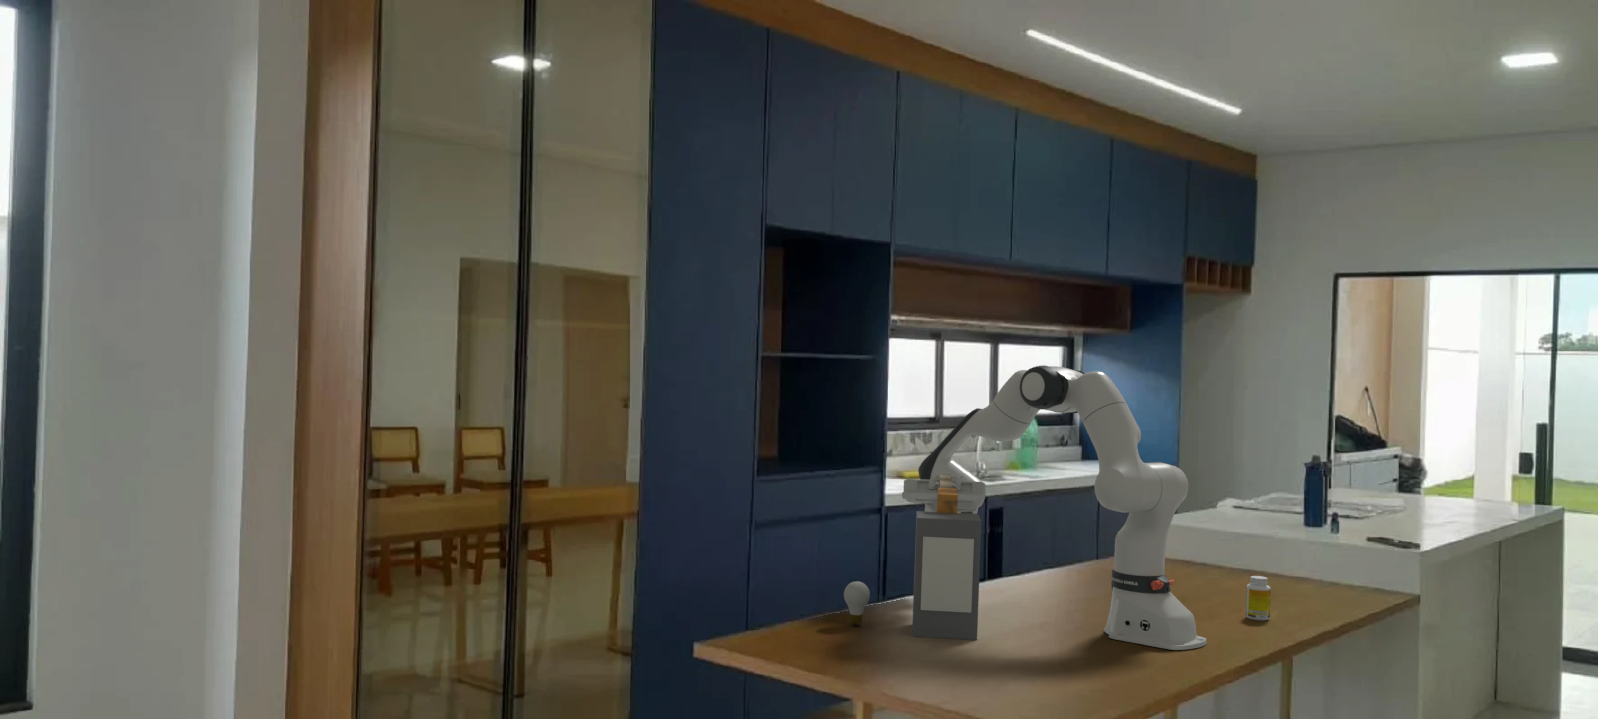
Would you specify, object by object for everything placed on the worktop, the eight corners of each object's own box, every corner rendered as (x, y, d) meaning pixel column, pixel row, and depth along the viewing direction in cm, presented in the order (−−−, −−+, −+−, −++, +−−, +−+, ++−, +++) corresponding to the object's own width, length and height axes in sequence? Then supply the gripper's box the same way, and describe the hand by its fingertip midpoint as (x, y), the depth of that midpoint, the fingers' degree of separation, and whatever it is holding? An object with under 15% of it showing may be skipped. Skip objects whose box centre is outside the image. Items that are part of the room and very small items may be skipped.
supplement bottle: (1273, 621, 293) (1275, 579, 293) (1251, 620, 293) (1252, 579, 293) (1263, 616, 299) (1265, 575, 299) (1241, 615, 298) (1243, 574, 298)
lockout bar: (935, 484, 295) (936, 467, 295) (953, 485, 295) (954, 468, 294) (937, 512, 274) (938, 494, 273) (957, 513, 273) (957, 494, 273)
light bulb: (866, 629, 268) (868, 584, 268) (840, 627, 270) (842, 582, 270) (870, 623, 274) (872, 580, 274) (845, 621, 275) (846, 578, 275)
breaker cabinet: (912, 624, 275) (916, 511, 275) (973, 627, 274) (978, 513, 274) (912, 636, 263) (917, 518, 263) (977, 640, 262) (981, 521, 262)
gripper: (902, 487, 306) (903, 464, 294) (983, 491, 304) (987, 468, 292) (901, 510, 303) (902, 488, 291) (983, 514, 301) (987, 492, 289)
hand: (945, 478), depth 291 cm, fingers closed on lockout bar, 3 cm apart
